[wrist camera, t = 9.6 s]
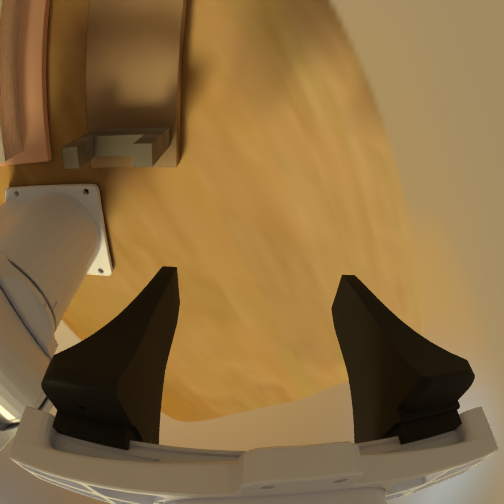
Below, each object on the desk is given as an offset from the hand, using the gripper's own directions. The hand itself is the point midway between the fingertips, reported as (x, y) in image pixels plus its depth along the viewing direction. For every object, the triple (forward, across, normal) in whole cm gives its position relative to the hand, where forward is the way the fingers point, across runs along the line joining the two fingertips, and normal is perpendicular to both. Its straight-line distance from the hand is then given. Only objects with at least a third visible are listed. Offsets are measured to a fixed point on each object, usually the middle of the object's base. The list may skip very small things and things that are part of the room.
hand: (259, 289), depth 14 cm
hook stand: (+9, +8, -11) cm, 17 cm away
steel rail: (+8, +18, -12) cm, 23 cm away
